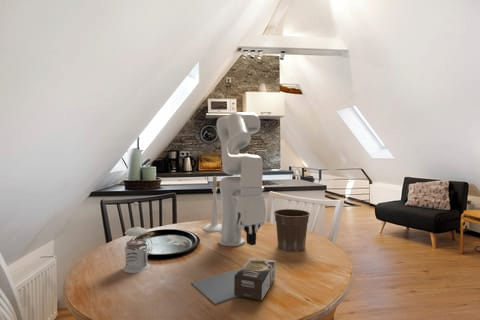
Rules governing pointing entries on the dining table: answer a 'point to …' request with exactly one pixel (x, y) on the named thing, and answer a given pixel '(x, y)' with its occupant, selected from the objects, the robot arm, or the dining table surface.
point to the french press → (136, 251)
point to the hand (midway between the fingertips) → (251, 243)
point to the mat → (217, 287)
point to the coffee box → (254, 278)
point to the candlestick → (214, 211)
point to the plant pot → (291, 229)
